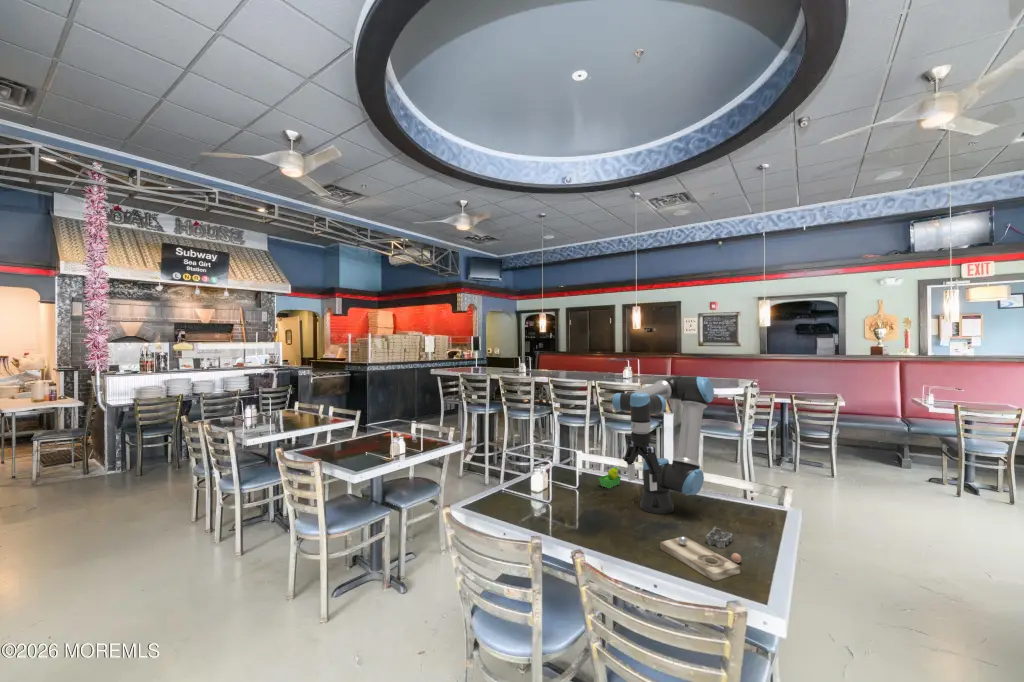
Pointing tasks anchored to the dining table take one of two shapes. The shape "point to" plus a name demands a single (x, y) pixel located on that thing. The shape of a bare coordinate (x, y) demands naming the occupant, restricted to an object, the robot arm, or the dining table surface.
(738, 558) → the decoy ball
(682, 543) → the steel ball
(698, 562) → the hole plate
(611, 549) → the dining table surface
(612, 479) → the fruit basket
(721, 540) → the egg carton
